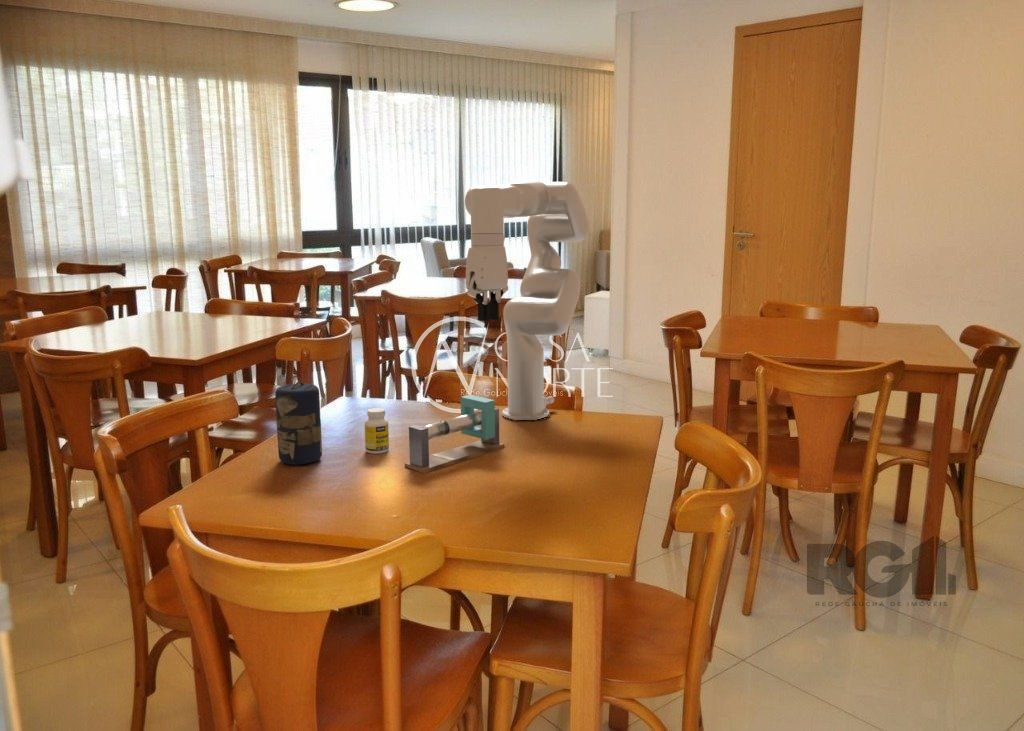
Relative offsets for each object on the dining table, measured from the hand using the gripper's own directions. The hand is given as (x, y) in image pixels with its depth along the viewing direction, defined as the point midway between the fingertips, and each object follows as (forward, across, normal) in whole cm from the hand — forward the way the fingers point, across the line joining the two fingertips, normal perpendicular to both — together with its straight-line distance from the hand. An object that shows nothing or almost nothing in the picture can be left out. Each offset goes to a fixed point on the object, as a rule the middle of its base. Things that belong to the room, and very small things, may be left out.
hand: (488, 319), depth 199 cm
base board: (+29, +15, +4) cm, 33 cm away
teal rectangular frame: (+26, +8, +4) cm, 27 cm away
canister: (+29, +40, -20) cm, 54 cm away
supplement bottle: (+29, +24, -13) cm, 40 cm away
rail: (+29, +15, +4) cm, 33 cm away
